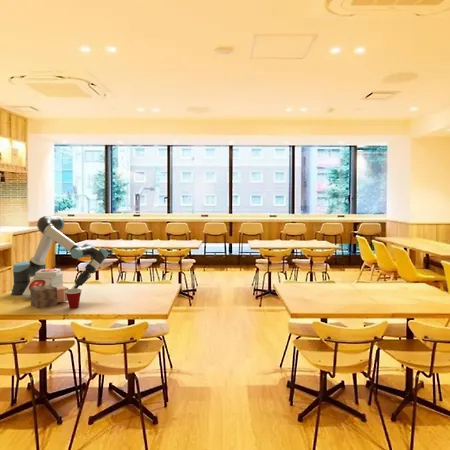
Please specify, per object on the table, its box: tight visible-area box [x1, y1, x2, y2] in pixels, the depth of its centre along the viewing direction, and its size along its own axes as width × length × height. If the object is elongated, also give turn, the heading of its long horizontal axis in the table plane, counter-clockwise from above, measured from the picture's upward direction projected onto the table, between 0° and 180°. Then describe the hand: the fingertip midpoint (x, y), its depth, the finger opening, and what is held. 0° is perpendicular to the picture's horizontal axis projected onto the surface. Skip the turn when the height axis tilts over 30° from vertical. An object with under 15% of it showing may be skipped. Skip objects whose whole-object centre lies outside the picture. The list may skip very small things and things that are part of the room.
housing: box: [30, 285, 58, 310], centre depth 304 cm, size 13×14×12 cm
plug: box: [56, 285, 69, 304], centre depth 310 cm, size 12×9×9 cm
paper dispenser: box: [22, 268, 64, 299], centre depth 332 cm, size 19×30×18 cm, turn 167°
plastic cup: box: [65, 288, 83, 310], centre depth 297 cm, size 11×11×12 cm
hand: (71, 292), depth 317 cm, fingers closed
